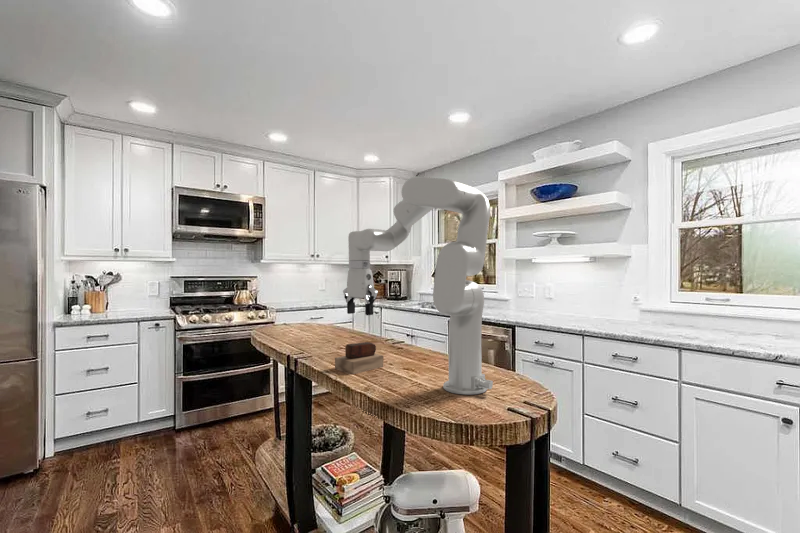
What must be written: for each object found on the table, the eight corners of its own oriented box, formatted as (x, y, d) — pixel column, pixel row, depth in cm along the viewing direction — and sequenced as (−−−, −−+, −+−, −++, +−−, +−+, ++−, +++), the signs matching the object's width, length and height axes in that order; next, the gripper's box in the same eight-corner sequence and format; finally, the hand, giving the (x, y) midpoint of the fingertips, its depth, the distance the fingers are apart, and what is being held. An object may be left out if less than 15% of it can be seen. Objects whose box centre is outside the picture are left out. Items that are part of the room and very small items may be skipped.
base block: (383, 366, 145) (383, 355, 145) (353, 374, 135) (353, 362, 135) (364, 362, 152) (364, 351, 152) (334, 369, 142) (334, 357, 142)
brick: (351, 359, 139) (351, 345, 139) (345, 357, 142) (345, 344, 142) (376, 355, 146) (376, 342, 146) (369, 353, 149) (369, 341, 149)
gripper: (383, 265, 141) (384, 314, 141) (351, 266, 153) (352, 312, 152) (368, 265, 135) (368, 316, 135) (335, 266, 147) (336, 313, 147)
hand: (360, 314), depth 144 cm, fingers open, 9 cm apart
